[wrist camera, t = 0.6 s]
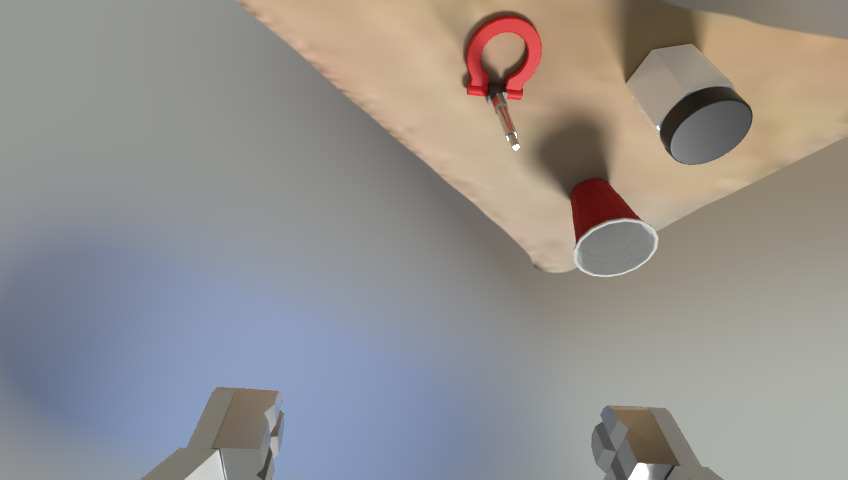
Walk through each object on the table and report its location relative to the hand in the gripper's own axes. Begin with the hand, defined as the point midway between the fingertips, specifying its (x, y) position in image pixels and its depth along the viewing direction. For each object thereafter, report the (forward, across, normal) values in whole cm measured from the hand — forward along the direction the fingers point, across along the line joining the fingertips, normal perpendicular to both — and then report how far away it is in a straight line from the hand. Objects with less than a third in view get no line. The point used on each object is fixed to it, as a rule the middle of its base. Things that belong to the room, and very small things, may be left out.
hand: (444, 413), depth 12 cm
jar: (+50, -30, -1) cm, 58 cm away
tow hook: (+48, -10, -1) cm, 49 cm away
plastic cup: (+54, -28, +17) cm, 63 cm away
